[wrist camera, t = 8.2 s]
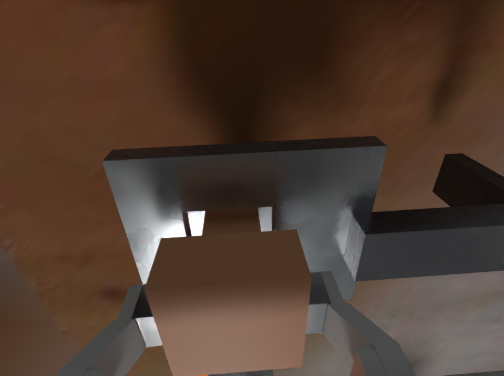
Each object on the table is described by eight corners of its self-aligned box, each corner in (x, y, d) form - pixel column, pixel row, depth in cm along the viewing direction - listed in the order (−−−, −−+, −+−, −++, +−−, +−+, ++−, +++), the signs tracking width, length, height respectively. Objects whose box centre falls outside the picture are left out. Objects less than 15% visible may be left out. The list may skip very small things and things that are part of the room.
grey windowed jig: (440, 88, 21) (721, 178, 9) (392, 248, 29) (506, 407, 17) (156, 101, 20) (48, 219, 8) (188, 263, 28) (158, 441, 16)
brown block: (272, 154, 18) (311, 277, 9) (272, 222, 21) (302, 366, 12) (186, 159, 18) (144, 289, 9) (198, 227, 20) (173, 377, 12)
